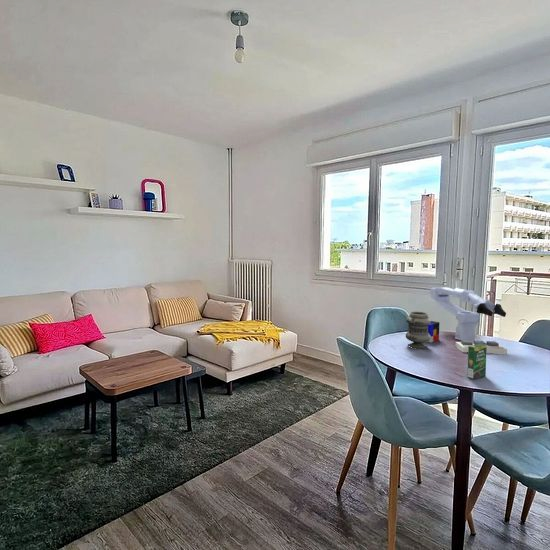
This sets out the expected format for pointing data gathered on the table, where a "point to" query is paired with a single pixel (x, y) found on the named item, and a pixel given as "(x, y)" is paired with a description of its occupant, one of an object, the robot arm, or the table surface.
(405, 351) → the table surface
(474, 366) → the coffee box
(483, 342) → the middle button
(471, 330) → the robot arm
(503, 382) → the table surface
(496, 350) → the button board
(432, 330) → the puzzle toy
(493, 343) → the right button
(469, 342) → the left button
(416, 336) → the stone vase
